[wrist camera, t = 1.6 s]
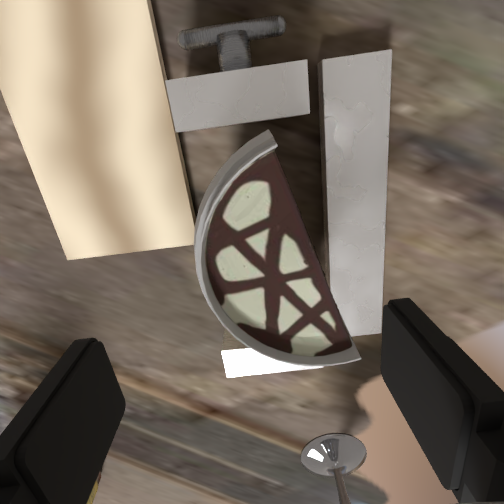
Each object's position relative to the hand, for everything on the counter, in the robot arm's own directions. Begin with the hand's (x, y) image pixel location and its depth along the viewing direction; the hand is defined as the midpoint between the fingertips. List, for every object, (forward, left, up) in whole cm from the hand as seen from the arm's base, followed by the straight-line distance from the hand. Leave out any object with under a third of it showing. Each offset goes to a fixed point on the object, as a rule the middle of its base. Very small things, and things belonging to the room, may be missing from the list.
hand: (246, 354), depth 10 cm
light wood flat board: (+9, -8, -14) cm, 19 cm away
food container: (-1, 0, -14) cm, 14 cm away
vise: (-3, -1, -14) cm, 14 cm away
